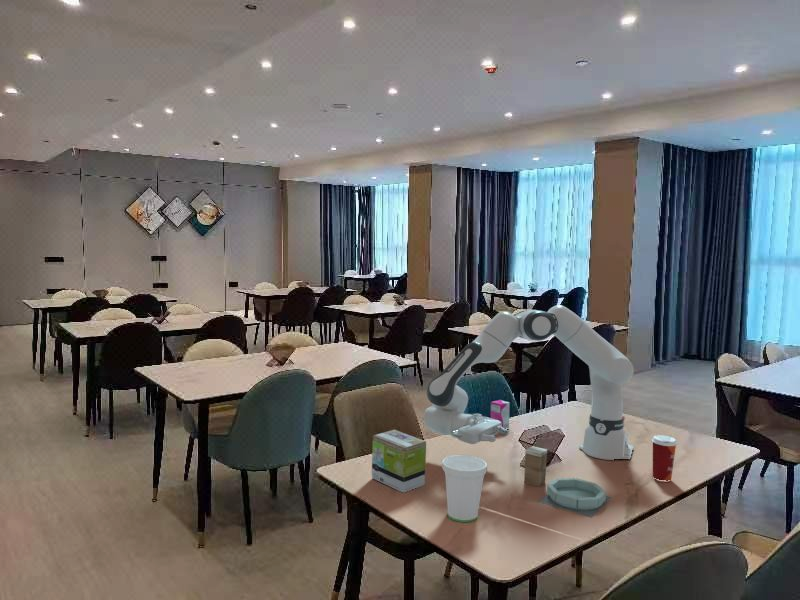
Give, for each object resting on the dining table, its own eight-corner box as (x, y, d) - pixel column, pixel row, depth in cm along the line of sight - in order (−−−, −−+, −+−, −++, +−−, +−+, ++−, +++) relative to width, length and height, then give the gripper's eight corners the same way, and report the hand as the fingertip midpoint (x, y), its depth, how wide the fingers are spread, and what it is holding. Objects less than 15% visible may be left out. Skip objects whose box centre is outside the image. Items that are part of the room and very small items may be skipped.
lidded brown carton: (530, 479, 195) (532, 446, 194) (545, 483, 192) (547, 449, 191) (523, 484, 191) (525, 450, 190) (538, 488, 188) (540, 453, 187)
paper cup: (677, 484, 194) (680, 443, 192) (651, 482, 195) (654, 440, 194) (671, 476, 201) (674, 435, 200) (647, 473, 203) (649, 433, 202)
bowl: (560, 484, 190) (561, 474, 190) (610, 498, 181) (611, 487, 180) (540, 500, 177) (540, 489, 177) (592, 516, 168) (593, 504, 168)
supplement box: (498, 425, 253) (499, 399, 252) (509, 429, 249) (510, 402, 248) (489, 428, 249) (490, 401, 248) (500, 431, 245) (501, 404, 244)
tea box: (370, 479, 191) (371, 434, 190) (392, 471, 198) (394, 428, 197) (403, 494, 180) (404, 446, 179) (425, 485, 187) (427, 439, 186)
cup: (493, 515, 167) (495, 462, 166) (467, 530, 158) (470, 474, 157) (457, 502, 176) (459, 451, 174) (431, 515, 166) (433, 462, 165)
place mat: (561, 484, 191) (561, 483, 191) (611, 498, 182) (612, 497, 181) (538, 502, 177) (538, 501, 177) (591, 518, 167) (591, 517, 167)
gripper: (449, 424, 197) (486, 433, 189) (480, 412, 213) (515, 420, 205) (448, 443, 198) (485, 453, 189) (479, 429, 214) (514, 438, 206)
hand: (501, 436), depth 197 cm, fingers open, 8 cm apart
